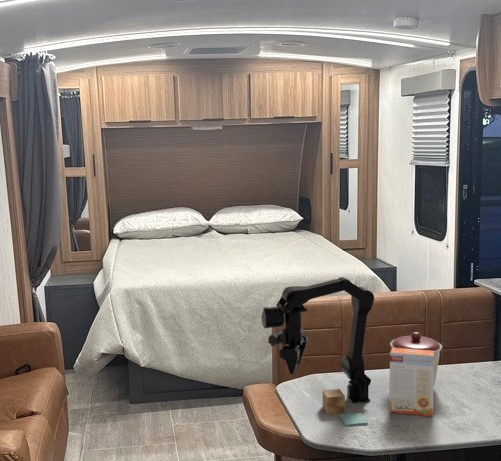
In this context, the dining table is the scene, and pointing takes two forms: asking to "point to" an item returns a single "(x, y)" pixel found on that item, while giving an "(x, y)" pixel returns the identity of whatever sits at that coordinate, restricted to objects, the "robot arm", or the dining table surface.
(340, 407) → the walnut cube
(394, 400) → the cracker box
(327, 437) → the dining table surface
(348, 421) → the teal pad
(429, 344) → the canister
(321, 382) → the dining table surface
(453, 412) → the dining table surface
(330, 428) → the dining table surface
